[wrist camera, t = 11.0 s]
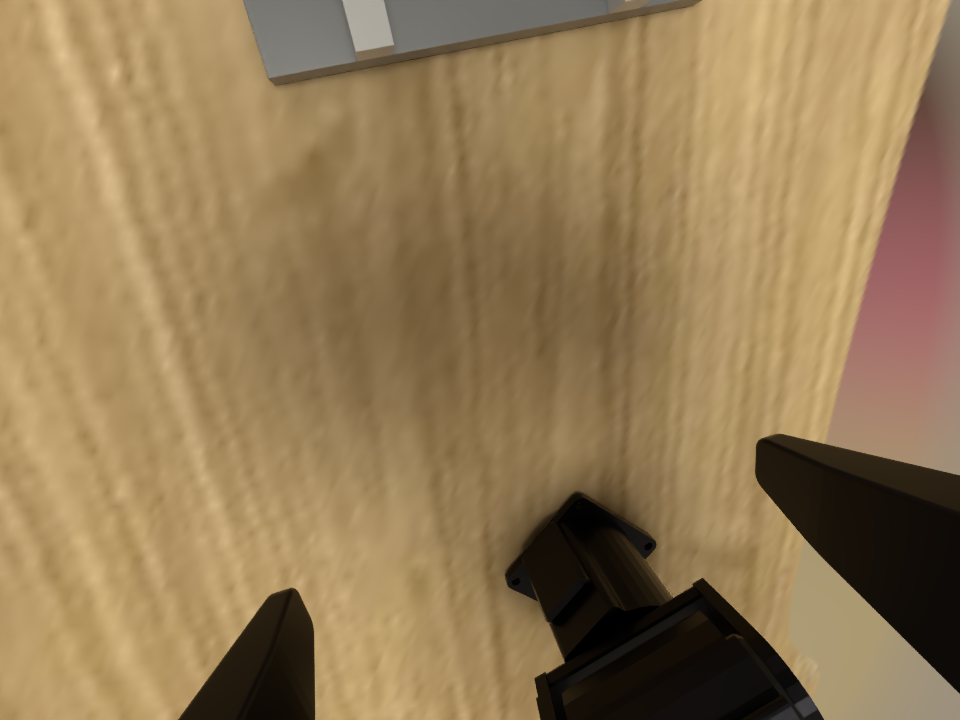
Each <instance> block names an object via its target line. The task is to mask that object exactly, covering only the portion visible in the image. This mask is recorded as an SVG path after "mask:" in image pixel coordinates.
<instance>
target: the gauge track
mask: <svg viewBox="0 0 960 720" xmlns="http://www.w3.org/2000/svg"><path fill="white" fill-rule="evenodd" d="M700 1H702V0H243V2H244V5H245V8H246V11H247V14H248V17H249V20H250V24H251V27H252V30H253V33H254V36H255V39H256V42H257V45H258V48H259V51H260V54H261V57H262V60H263V63H264V66H265V70H266V73H267V76H268V78H269V79H270V80H271V82H272V83H273V84H274V85H280V84H285V83H291V82H296V81H301V80H306V79H312V78H317V77H322V76H327V75H333V74H338V73H343V72H348V71H354V70H359V69H364V68H369V67H375V66H380V65H385V64H390V63H396V62H401V61H406V60H411V59H416V58H422V57H427V56H432V55H437V54H443V53H448V52H453V51H458V50H464V49H469V48H474V47H479V46H485V45H490V44H495V43H500V42H506V41H511V40H516V39H521V38H527V37H532V36H537V35H542V34H547V33H553V32H558V31H563V30H568V29H574V28H579V27H584V26H589V25H595V24H600V23H605V22H610V21H616V20H621V19H626V18H631V17H637V16H642V15H647V14H652V13H657V12H663V11H668V10H673V9H678V8H684V7H689V6H693V5H695V4H696V3H698V2H700Z"/></svg>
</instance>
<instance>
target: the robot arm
mask: <svg viewBox="0 0 960 720" xmlns="http://www.w3.org/2000/svg"><path fill="white" fill-rule="evenodd" d="M755 475H756V478H757V481H758V483H759V484H760V486H761V487H762V488H763V490H764V491H765V492H766V493H767V494H768V495H769V497H770V498H771V499H772V500H773V501H774V503H775V504H776V505H777V506H778V507H779V508H780V510H781V511H782V512H783V513H784V514H785V516H786V517H787V518H788V519H789V520H790V521H791V523H792V524H793V525H794V526H795V527H796V529H797V530H798V531H799V532H800V533H801V534H802V536H803V537H804V538H805V539H806V540H807V541H808V543H809V544H810V545H811V546H812V547H813V548H814V549H815V550H816V551H817V552H818V554H819V555H820V556H821V557H822V558H823V559H824V560H825V561H826V562H827V563H828V564H829V565H830V566H831V567H832V568H833V569H834V570H835V571H836V572H837V573H838V574H839V575H840V576H841V577H842V578H843V579H844V580H846V582H847V583H848V584H850V586H851V587H853V588H854V590H856V591H857V592H858V593H859V594H860V595H861V596H862V597H863V598H864V599H865V600H866V601H867V602H868V603H869V604H870V605H871V606H872V607H873V608H874V609H875V610H876V611H877V612H878V613H879V614H880V615H881V616H882V617H883V618H884V619H885V620H886V621H887V622H888V623H889V624H890V625H891V626H892V627H893V628H894V629H895V630H896V631H897V632H898V633H899V634H900V635H901V636H902V637H903V638H904V639H905V640H906V641H907V642H908V643H909V644H910V645H911V646H912V647H913V648H914V649H915V650H916V651H917V652H918V653H919V654H920V655H921V656H922V657H923V658H924V659H925V660H926V661H927V662H928V663H929V664H930V665H931V666H932V667H933V668H934V669H935V670H936V671H937V672H938V673H939V674H940V675H941V676H942V677H943V678H944V679H945V680H946V681H947V682H948V683H949V684H951V686H952V687H953V688H954V689H956V690H957V692H959V693H960V475H956V474H951V473H947V472H942V471H938V470H934V469H930V468H925V467H921V466H917V465H913V464H908V463H904V462H900V461H895V460H891V459H887V458H883V457H878V456H873V455H869V454H865V453H861V452H856V451H852V450H848V449H844V448H839V447H835V446H831V445H827V444H822V443H818V442H814V441H810V440H805V439H801V438H797V437H792V436H788V435H784V434H774V435H771V436H768V437H764V438H762V439H760V440H758V442H757V444H756V463H755ZM580 502H582V503H581V504H580V505H578V506H577V504H578V503H580ZM655 548H656V541H655V540H654V539H653V538H652V536H651V535H649V534H648V533H646V532H644V531H643V530H641V529H639V528H638V527H636V526H634V525H633V524H631V523H630V522H628V521H626V520H625V519H623V518H621V517H620V516H618V515H616V514H615V513H613V512H612V511H610V510H608V509H607V508H605V507H603V506H602V505H600V504H598V503H597V502H595V501H594V500H592V499H590V498H589V497H587V496H585V495H584V494H576V495H574V496H572V497H571V498H570V500H569V501H568V502H567V503H566V504H565V505H564V507H563V508H562V509H561V510H560V511H559V512H558V514H557V515H556V516H555V517H554V518H553V519H552V521H551V522H550V523H549V524H548V525H547V527H546V528H545V529H544V530H543V531H542V532H541V534H540V535H539V536H538V537H537V538H536V539H535V541H534V542H533V543H532V544H531V545H530V546H529V548H528V549H527V550H526V551H525V552H524V553H523V555H522V556H521V557H520V558H519V559H518V561H517V562H516V563H515V564H514V565H513V566H512V568H511V569H510V570H509V571H508V572H507V574H506V575H505V579H506V582H507V585H508V587H509V588H511V589H513V590H515V591H517V592H519V593H522V594H524V595H526V596H528V597H530V598H532V599H534V600H536V601H538V602H539V604H540V607H541V609H542V612H543V614H544V617H545V619H546V621H547V622H548V623H549V625H550V627H551V630H552V632H553V634H554V637H555V639H556V642H557V644H558V647H559V649H560V652H561V654H562V657H563V659H564V662H565V663H564V664H562V665H560V666H559V667H557V668H555V669H554V670H552V671H550V672H549V673H547V674H546V672H544V673H543V674H541V675H539V676H537V677H536V678H534V679H535V684H536V689H537V693H538V697H537V698H536V700H537V705H538V710H539V714H540V719H541V720H824V719H823V717H822V715H821V714H820V712H819V710H818V708H817V707H816V705H815V704H814V702H813V701H812V699H811V698H810V696H809V695H808V693H807V692H806V690H805V689H804V687H803V686H802V685H801V683H800V682H799V680H798V679H797V678H796V676H795V675H794V674H793V672H792V671H791V670H790V668H789V667H788V666H787V665H786V663H785V662H784V661H783V660H782V658H781V657H780V656H779V655H778V653H777V652H776V651H775V650H774V649H773V648H772V647H771V645H770V644H769V643H768V642H767V641H766V640H765V639H764V638H763V637H762V636H761V635H760V634H759V633H758V632H757V631H756V630H755V629H754V628H753V627H752V626H751V625H750V624H749V623H748V622H747V621H746V620H745V619H744V618H743V617H742V616H741V615H740V614H739V613H738V612H737V611H736V610H735V609H734V608H733V607H732V606H731V605H730V604H729V603H728V602H727V601H726V600H725V599H724V598H723V597H722V596H721V595H720V594H719V593H718V592H717V591H716V590H715V589H714V588H713V587H712V586H711V585H709V584H708V583H707V582H706V581H705V580H704V579H703V578H701V579H700V580H698V581H696V582H695V583H693V584H692V585H693V587H691V588H689V589H688V590H686V591H684V592H683V593H681V594H679V595H678V596H676V597H674V598H673V597H672V596H671V595H670V593H669V592H668V591H667V589H666V588H665V586H664V585H663V584H662V582H661V581H660V580H659V578H658V577H657V576H656V574H655V573H654V571H653V570H652V569H651V567H650V566H649V565H648V563H647V562H646V561H645V559H646V558H647V557H648V556H649V555H650V554H651V553H652V551H653V550H654V549H655ZM514 578H516V579H514ZM513 579H514V580H513ZM178 720H315V665H314V628H313V623H312V620H311V617H310V615H309V613H308V611H307V609H306V607H305V605H304V603H303V601H302V599H301V596H300V594H299V592H298V591H297V590H296V589H295V588H289V589H286V590H282V591H279V592H276V593H273V594H271V595H270V596H269V597H268V598H267V599H266V600H265V602H264V603H263V605H262V606H261V607H260V609H259V610H258V611H257V613H256V614H255V615H254V617H253V618H252V620H251V621H250V622H249V624H248V625H247V626H246V628H245V629H244V630H243V632H242V633H241V635H240V636H239V637H238V639H237V640H236V641H235V643H234V644H233V645H232V647H231V648H230V650H229V651H228V652H227V654H226V655H225V656H224V658H223V659H222V660H221V662H220V663H219V665H218V666H217V667H216V669H215V670H214V671H213V673H212V674H211V675H210V677H209V678H208V680H207V681H206V682H205V684H204V685H203V686H202V688H201V689H200V690H199V692H198V693H197V695H196V696H195V697H194V699H193V700H192V701H191V703H190V704H189V705H188V707H187V708H186V710H185V711H184V712H183V714H182V715H181V716H180V718H179V719H178Z"/></svg>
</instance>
